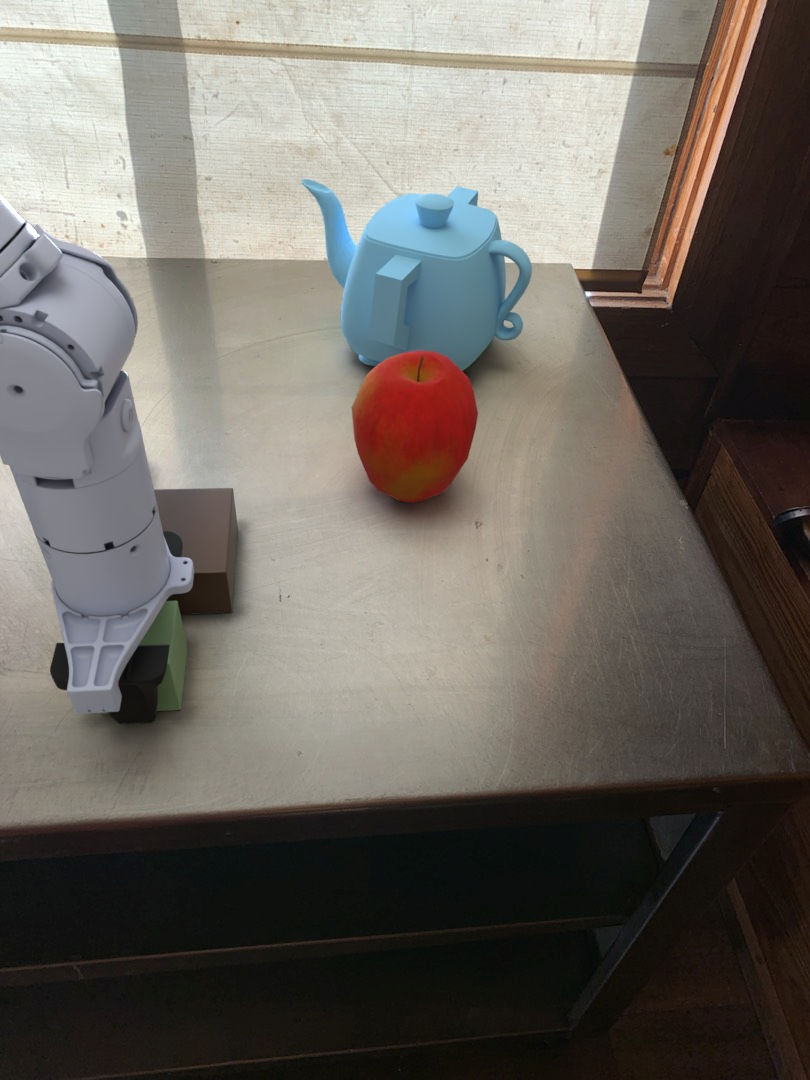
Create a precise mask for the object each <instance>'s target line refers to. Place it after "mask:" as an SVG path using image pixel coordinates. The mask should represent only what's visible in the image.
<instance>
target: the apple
mask: <svg viewBox="0 0 810 1080" xmlns="http://www.w3.org/2000/svg"><path fill="white" fill-rule="evenodd" d="M351 416H352V427H353V428H352V429H353V438H354V443H355V448H356V451H357V455H358V457H359V460H360V462H361V465H362V467H363V469H364V472H365V474H366V476H367V479H368V481H369V482H370V483H371V485H372V486H373V487H374V488H375V489H376V490H377V491H378V492H380V493H382V494H385V495H387V496H389V497H391V498H393V499H395V500H397V501H399V502H401V503H402V502H403V503H407V504H415V503H420V502H423V501H425V500H428V499H430V498H433V497H435V496H437V495H440V494H442V493H443V492H444V491H445V490H446V489H447V488H449V486H451V485H452V483H453V481H454V480H455V479H456V477H457V476H458V474H459V473H460V471H461V470H462V468H463V466H464V465H465V464H466V462H467V461H468V459H469V456H470V451H471V448H472V444H473V440H474V436H475V433H476V428H477V424H478V418H479V417H478V416H479V410H478V406H477V401H476V396H475V391H474V388H473V385H472V382H471V380H470V378H469V376H468V375H467V374H466V373H464V371H461V370H460V369H459V368H458V367H457V366H456V365H455V364H454V363H453V362H452V361H451V360H450V359H449V358H448V357H446V356H444V355H442V354H439V353H437V352H434V351H412V352H405V353H401V354H398V355H395V356H392V357H389V358H388V359H386V360H384V361H383V362H381V363H379V364H378V365H377V366H374V367H373V368H372V369H371V370H370V371H369V372H368V373H366V375H365V377H364V379H363V381H362V383H361V386H360V387H359V390H358V392H357V393H356V396H355V398H354V400H353V403H352V406H351Z"/></svg>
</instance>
